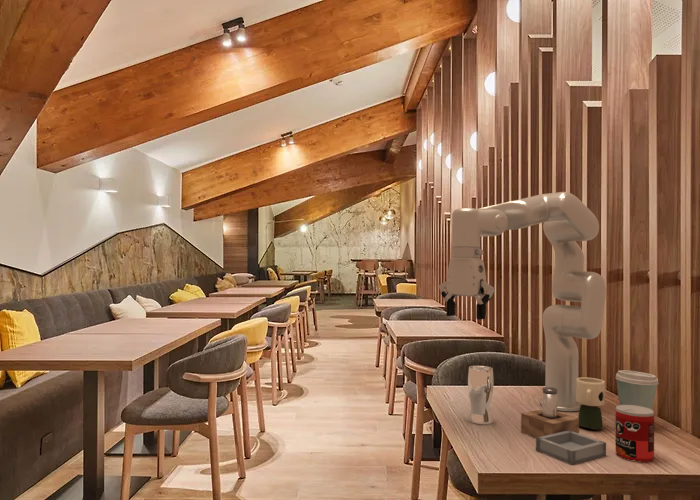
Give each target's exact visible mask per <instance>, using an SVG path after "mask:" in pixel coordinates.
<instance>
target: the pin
mask: <svg viewBox="0 0 700 500" xmlns="http://www.w3.org/2000/svg"><path fill="white" fill-rule="evenodd" d="M541 394H542V396H541V397H542V398H541V399H542V405H541V406H542V408H541V410H542V417H545V418H548V419H551V420H552V419H557V412H558V410H557V389H556V388H551V387H542V393H541Z"/></svg>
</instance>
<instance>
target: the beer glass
mask: <svg viewBox="0 0 700 500" xmlns="http://www.w3.org/2000/svg"><path fill="white" fill-rule="evenodd" d="M467 389H468V390H467V391H468V397H469V401H470V402H469V403H470V413H469V417H468V421H469V422H470V423H471V424H475V425H481V426H485V425H490V424H491V423H492V417H491V404H492V398H493V394H494V370H493V367H491V366H487V365H470V366H469V367H468V375H467Z"/></svg>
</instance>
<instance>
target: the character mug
mask: <svg viewBox="0 0 700 500" xmlns="http://www.w3.org/2000/svg"><path fill="white" fill-rule="evenodd" d="M576 401H577V402H578V403H580V404H582V405H581V406H580V410H579V411H578V416H577V418H579V427H583V428H588V430H602V429H603V426H604V425H603V416H602V409H601V406H604V405H605V404H606V403H605V402H606V381H605V380H604V379H600V378H594V377H588V376H587V377H582V376H581V377H578V378H577V379H576Z"/></svg>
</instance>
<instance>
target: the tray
mask: <svg viewBox="0 0 700 500" xmlns="http://www.w3.org/2000/svg"><path fill="white" fill-rule="evenodd" d="M535 451H537V452H538V453H541V454H545V455H547V456H549V457H552V458H553V459H556V460H559V461H562V462H564V463H566V464H568V465H571V466H573V465H576V464H581V463H584V462H587V461H591V460H594V459H598V458H599V459H600V458H602V457H606V456H607V442H605V441H602V440H599V439H596V438H593V437H591V436H587V435H584V434H582V433H580V432H579V433H576V432H573V431H570V430H568V431H564V432H559V433H555V434H550V435H546V436H541V437H537V438H535Z"/></svg>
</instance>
